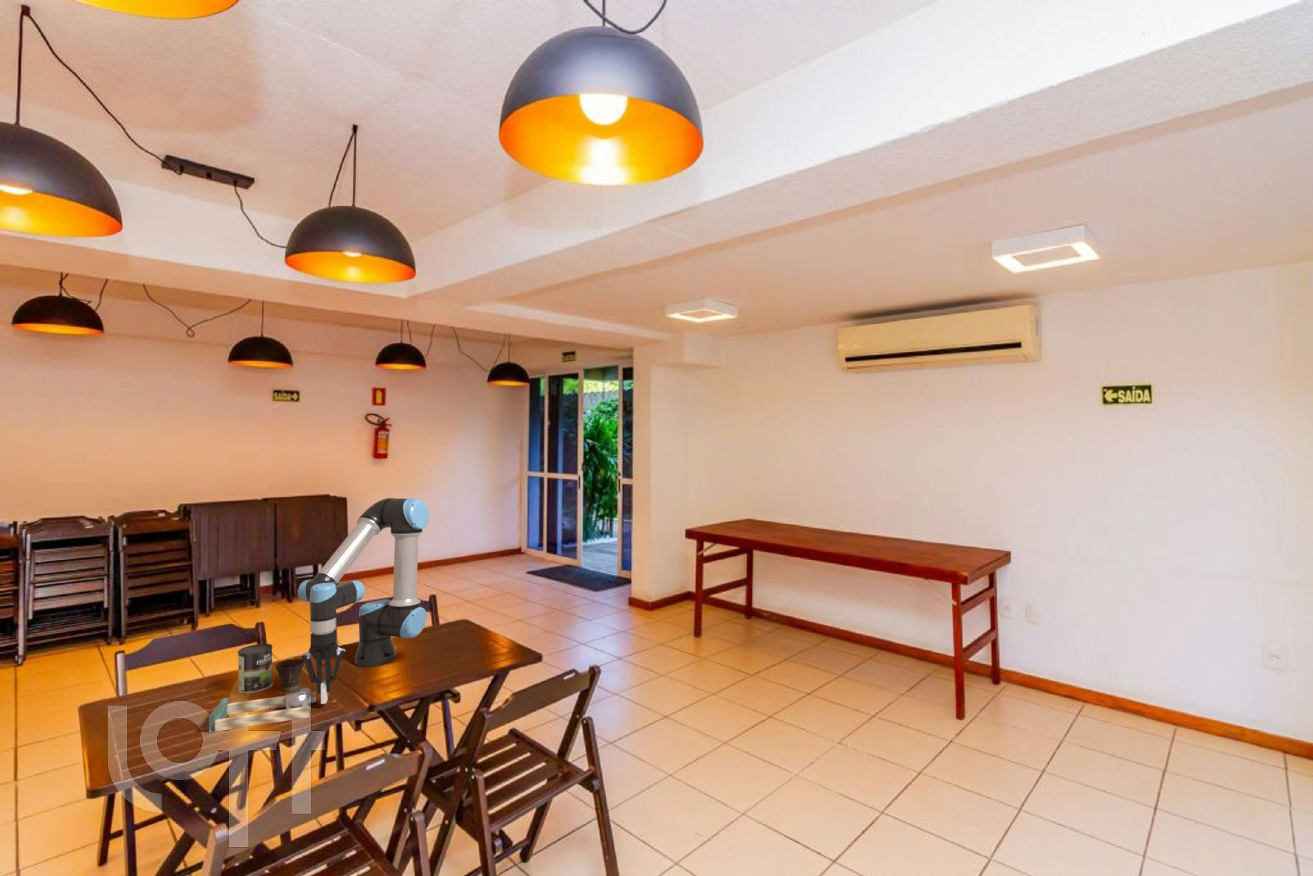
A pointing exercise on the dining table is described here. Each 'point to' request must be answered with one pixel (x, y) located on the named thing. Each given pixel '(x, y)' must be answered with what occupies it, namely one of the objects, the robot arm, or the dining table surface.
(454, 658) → the dining table surface
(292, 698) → the keeper
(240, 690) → the coffee can
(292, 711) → the channel
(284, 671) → the cup
